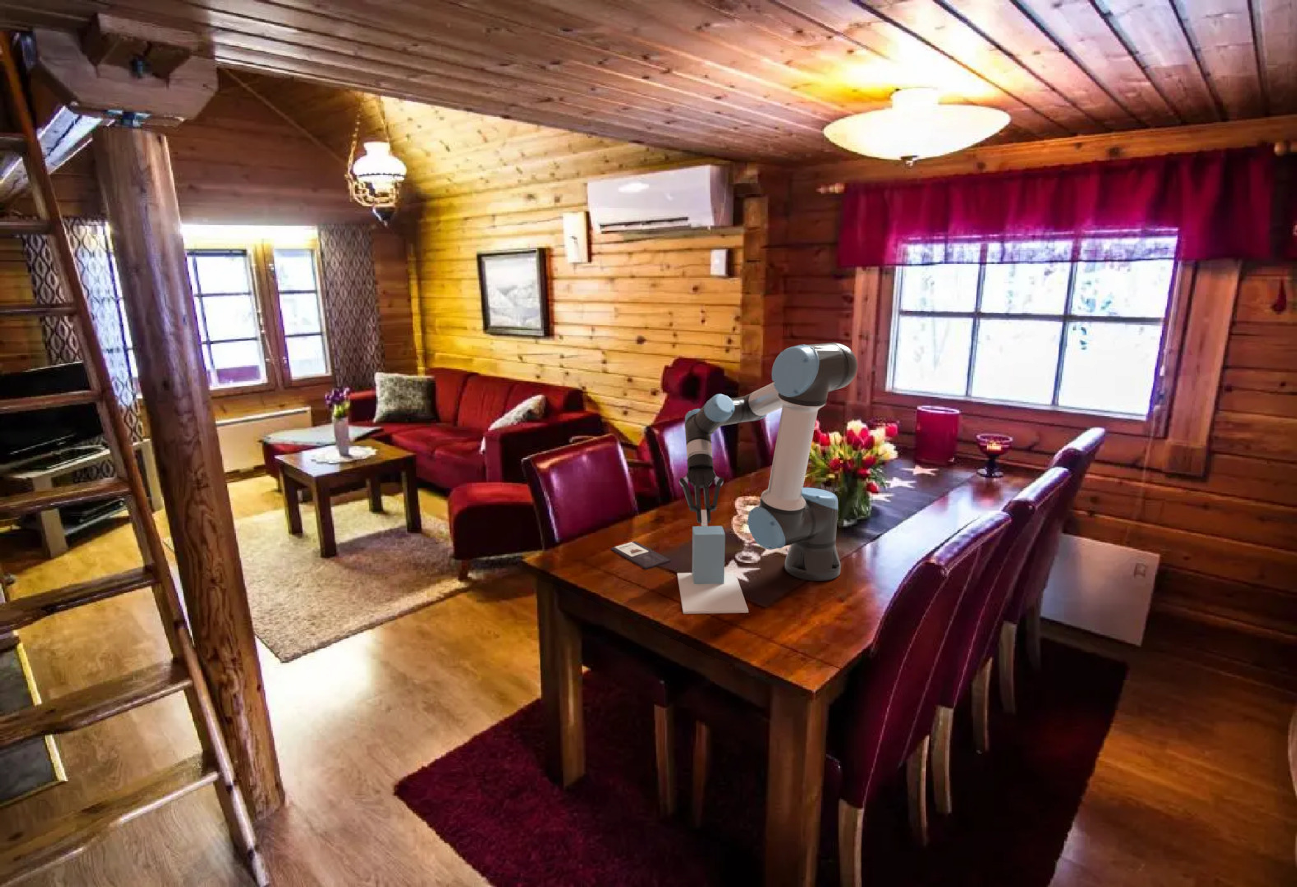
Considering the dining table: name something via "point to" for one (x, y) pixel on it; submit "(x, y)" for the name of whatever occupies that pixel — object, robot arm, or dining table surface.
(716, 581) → the blue block
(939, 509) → the dining table surface
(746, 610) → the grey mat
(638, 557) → the chocolate bar
